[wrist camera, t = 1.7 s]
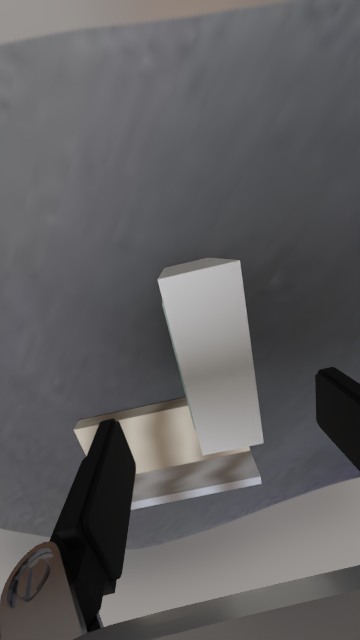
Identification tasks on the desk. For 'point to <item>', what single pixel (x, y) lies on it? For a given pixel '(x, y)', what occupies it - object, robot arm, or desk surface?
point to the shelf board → (172, 455)
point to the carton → (213, 351)
